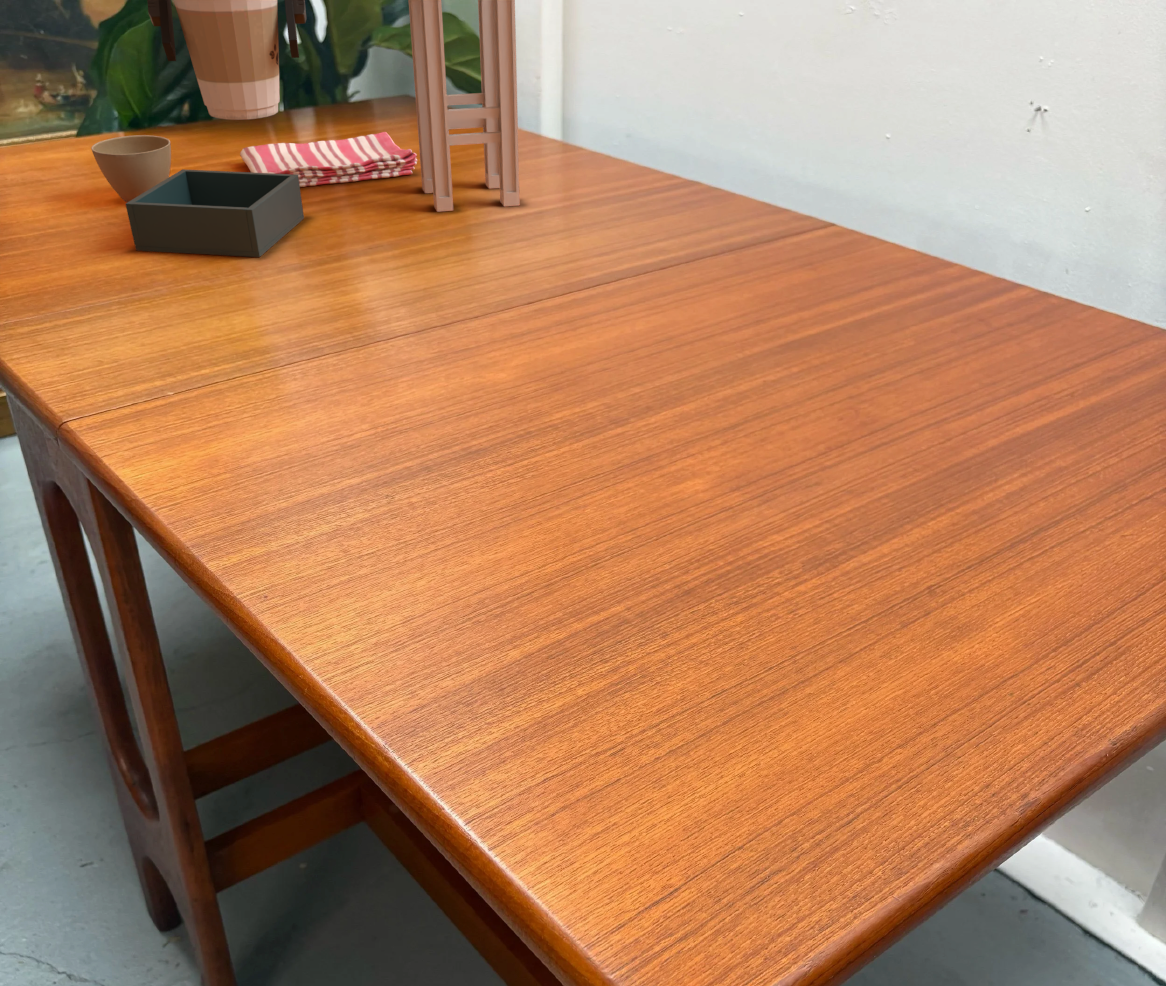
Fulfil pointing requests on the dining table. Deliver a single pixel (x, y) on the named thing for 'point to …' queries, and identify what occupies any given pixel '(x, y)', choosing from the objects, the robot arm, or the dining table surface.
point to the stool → (467, 100)
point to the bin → (216, 213)
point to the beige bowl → (133, 163)
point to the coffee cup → (234, 55)
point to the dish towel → (333, 159)
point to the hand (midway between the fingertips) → (232, 50)
